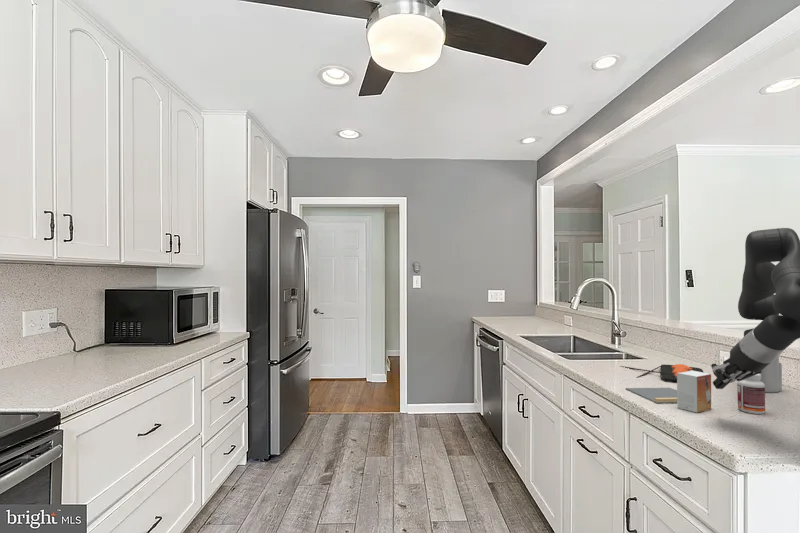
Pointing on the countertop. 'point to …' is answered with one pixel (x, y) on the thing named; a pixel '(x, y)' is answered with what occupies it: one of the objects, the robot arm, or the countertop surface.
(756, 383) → the pill bottle
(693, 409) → the small box
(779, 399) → the countertop surface
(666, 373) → the sushi plate
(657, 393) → the board
